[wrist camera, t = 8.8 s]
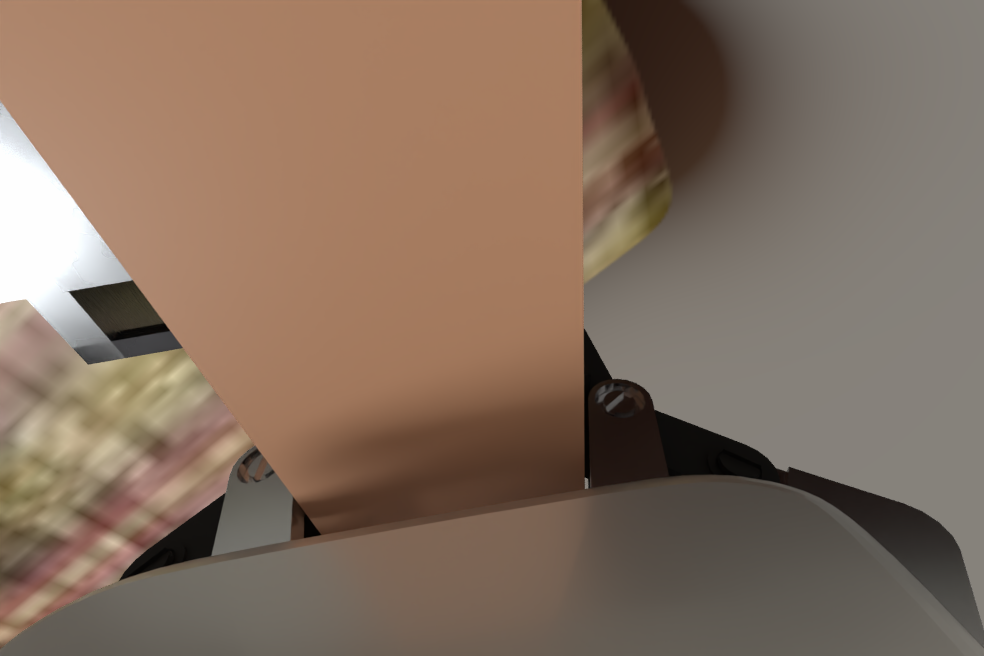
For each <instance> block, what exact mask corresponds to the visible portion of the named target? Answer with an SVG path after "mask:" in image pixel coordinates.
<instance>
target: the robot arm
mask: <svg viewBox="0 0 984 656" xmlns="http://www.w3.org/2000/svg"><path fill="white" fill-rule="evenodd" d="M584 467H585V478H587V479H588V489H582V490H577V491H571V492H565V493H559V494H553V495H547V496H541V497H536V498H530V499H524V500H518V501H512V502H506V503H501V504H495V505H489V506H483V507H477V508H472V509H466V510H460V511H455V512H449V513H443V514H437V515H432V516H426V517H420V518H415V519H409V520H403V521H398V522H392V523H387V524H381V525H375V526H370V527H364V528H358V529H353V530H347V531H342V532H336V533H331V534H325V535H321V533H320V532H319V531H318V529H317V528H316V527H315V525H314V524H313V523H312V521H311V520H310V519H309V517H308V516H307V515H306V513H305V512H304V511H303V509H302V508H301V506H300V505H299V504H298V502H297V501H296V500H295V498H294V497H293V496H292V494H291V493H290V492H289V490H288V489H287V488H286V486H285V485H284V484H283V482H282V481H281V479H280V478H279V477H278V475H277V474H276V473H275V471H274V470H273V469H272V467H271V466H270V465H269V463H268V462H267V461H266V459H265V458H264V456H263V455H262V454H261V452H260V451H259V450H258V448H257V447H256V446H254V447H252V448H251V449H249V450H248V451H247V452H246V453H245V454H243V455H242V456H241V457H240V458H239V459H238V461H237V462H236V463H235V465H234V466H233V468H232V471H231V473H230V477H229V481H228V485H227V490H226V493H225V494H223V495H222V496H221V497H219V498H218V499H216V500H215V501H214V502H212V503H211V504H210V505H208V506H207V507H205V508H204V509H203V510H201V511H200V512H199V513H197V514H196V515H195V516H193V517H192V518H190V519H189V520H188V521H186V522H185V523H184V524H182V525H181V526H180V527H178V528H177V529H175V530H174V531H173V532H171V533H170V534H169V535H167V536H166V537H164V538H163V539H162V540H160V541H159V542H158V543H156V544H155V545H154V546H152V547H151V548H149V549H148V550H147V551H146V552H144V553H143V554H142V555H141V556H140V557H138V558H137V559H136V560H135V561H134V562H133V563H132V564H131V565H130V567H129V568H128V569H127V570H126V571H125V572H124V574H123V575H122V577H121V578H120V580H119V581H118V582H116V583H113V584H111V585H108V586H106V587H103V588H101V589H98V590H96V591H93V592H91V593H89V594H87V595H85V596H83V597H81V598H79V599H77V600H75V601H73V602H71V603H69V604H67V605H65V606H63V607H61V608H59V609H57V610H56V611H54V612H52V613H50V614H49V615H47V616H45V617H44V618H42V619H40V620H39V621H37V622H36V623H34V624H33V625H31V626H30V627H28V628H27V629H25V630H24V631H22V632H21V633H19V634H18V635H17V636H15V637H14V638H13V639H12V640H11V641H9V642H8V643H7V644H6V645H4V646H3V647H2V648H1V649H0V656H984V629H983V625H982V622H981V619H980V615H979V612H978V608H977V605H976V602H975V598H974V595H973V591H972V588H971V585H970V581H969V578H968V574H967V571H966V567H965V564H964V560H963V557H962V554H961V550H960V548H959V546H958V544H957V543H956V541H955V539H954V537H953V536H952V535H951V534H950V533H949V532H948V531H947V530H946V529H945V528H944V527H943V526H942V525H941V524H940V523H939V522H938V521H936V520H935V519H933V518H932V517H930V516H929V515H927V514H926V513H924V512H923V511H920V510H918V509H916V508H913V507H911V506H908V505H906V504H904V503H901V502H897V501H895V500H891V499H888V498H885V497H882V496H879V495H876V494H873V493H869V492H866V491H863V490H860V489H857V488H854V487H850V486H848V485H844V484H841V483H838V482H835V481H832V480H829V479H825V478H822V477H819V476H816V475H813V474H810V473H807V472H804V471H801V470H797V469H794V468H791V467H789V468H788V470H787V472H786V471H783V470H780V469H776V468H775V467H774V465H773V464H772V463H771V462H770V461H769V459H768V458H766V457H765V456H764V455H763V454H761V453H760V452H759V451H757V450H755V449H753V448H751V447H749V446H747V445H745V444H742V443H740V442H737V441H734V440H732V439H729V438H727V437H724V436H721V435H719V434H716V433H713V432H711V431H708V430H706V429H703V428H700V427H698V426H695V425H693V424H690V423H687V422H685V421H682V420H680V419H677V418H674V417H672V416H669V415H667V414H664V413H661V412H659V411H656V410H654V405H653V401H652V399H651V397H650V394H649V393H648V392H647V391H646V390H645V389H644V388H643V387H641V386H640V385H638V384H637V383H634V382H631V381H628V380H622V379H612V377H611V376H610V374H609V372H608V370H607V368H606V367H605V365H604V363H603V361H602V360H601V358H600V356H599V354H598V352H597V350H596V349H595V347H594V345H593V343H592V341H591V340H590V338H589V336H588V334H587V332H586V331H585V329H584Z"/></svg>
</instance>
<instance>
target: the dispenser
mask: <svg viewBox="0 0 984 656" xmlns="http://www.w3.org/2000/svg"><path fill="white" fill-rule="evenodd" d="M21 299H27V300H28V301H29V302H30V303H31V304H32V305H33V307H34V308H35V309H36V310H37V311H38V312H39V313H40V314H41V315H42V316H43V317H44V318H45V319H46V320H47V321H48V322H49V323H50V325H51V326H52V327H53V328H54V329H55V330H56V331H57V332H58V333H59V334H60V335H61V336H62V337H63V338H64V339H65V340H66V341H67V343H68V344H69V345H70V346H71V347H72V348H73V349H74V350H75V351H76V352H77V353H78V354H79V355H80V356H81V357H82V358H83V359H84V361H85V362H86V363H87V364H94V363H100V362H105V361H111V360H117V359H123V358H128V357H134V356H140V355H145V354H151V353H157V352H163V351H168V350H174V349H180V348H183V347H182V346H181V344H180V343H179V342H178V340H177V339H176V338H175V336H174V335H173V334H172V332H171V331H170V330H169V328H168V327H167V325H166V324H165V323H164V321H163V320H162V319H161V317H160V316H159V315H158V313H157V312H156V311H155V309H154V308H153V307H152V305H151V304H150V302H149V301H148V300H147V298H146V297H145V296H144V294H143V293H142V292H141V290H140V289H139V288H138V286H137V285H136V284H135V282H134V281H133V280H132V278H131V277H130V275H129V274H128V273H127V271H126V270H125V269H124V267H123V266H122V265H121V263H120V262H119V261H118V259H117V258H116V257H115V255H114V254H113V253H112V251H111V250H110V248H109V247H108V246H107V244H106V243H105V242H104V240H103V239H102V238H101V236H100V235H99V234H98V232H97V231H96V230H95V228H94V227H93V226H92V224H91V223H90V221H89V220H88V219H87V217H86V216H85V215H84V213H83V212H82V211H81V209H80V208H79V207H78V205H77V204H76V203H75V201H74V200H73V198H72V197H71V196H70V194H69V193H68V192H67V190H66V189H65V188H64V186H63V185H62V184H61V182H60V181H59V180H58V178H57V177H56V176H55V174H54V173H53V171H52V170H51V169H50V167H49V166H48V165H47V163H46V162H45V161H44V159H43V158H42V157H41V155H40V154H39V153H38V151H37V150H36V149H35V147H34V146H33V144H32V143H31V142H30V140H29V139H28V138H27V136H26V135H25V134H24V132H23V131H22V130H21V128H20V127H19V126H18V124H17V123H16V121H15V120H14V119H13V117H12V116H11V115H10V113H9V112H8V111H7V109H6V108H5V107H4V105H3V104H2V103H1V101H0V303H4V302H9V301H15V300H21Z"/></svg>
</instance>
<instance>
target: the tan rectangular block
mask: <svg viewBox="0 0 984 656" xmlns="http://www.w3.org/2000/svg"><path fill="white" fill-rule="evenodd" d="M0 101H1V103H2V104H3V105H4V107H5V108H6V109H7V111H8V112H9V113H10V115H11V116H12V117H13V119H14V120H15V121H16V123H17V124H18V126H19V127H20V128H21V130H22V131H23V132H24V134H25V135H26V136H27V138H28V139H29V140H30V142H31V143H32V144H33V146H34V147H35V149H36V150H37V151H38V153H39V154H40V155H41V157H42V158H43V159H44V161H45V162H46V163H47V165H48V166H49V167H50V169H51V170H52V171H53V173H54V174H55V176H56V177H57V178H58V180H59V181H60V182H61V184H62V185H63V186H64V188H65V189H66V190H67V192H68V193H69V194H70V196H71V197H72V198H73V200H74V201H75V203H76V204H77V205H78V207H79V208H80V209H81V211H82V212H83V213H84V215H85V216H86V217H87V219H88V220H89V221H90V223H91V224H92V226H93V227H94V228H95V230H96V231H97V232H98V234H99V235H100V236H101V238H102V239H103V240H104V242H105V243H106V244H107V246H108V247H109V248H110V250H111V251H112V253H113V254H114V255H115V257H116V258H117V259H118V261H119V262H120V263H121V265H122V266H123V267H124V269H125V270H126V271H127V273H128V274H129V275H130V277H131V278H132V280H133V281H134V282H135V284H136V285H137V286H138V288H139V289H140V290H141V292H142V293H143V294H144V296H145V297H146V298H147V300H148V301H149V302H150V304H151V305H152V307H153V308H154V309H155V311H156V312H157V313H158V315H159V316H160V317H161V319H162V320H163V321H164V323H165V324H166V325H167V327H168V328H169V330H170V331H171V332H172V334H173V335H174V336H175V338H176V339H177V340H178V342H179V343H180V344H181V346H182V347H183V348H184V350H185V351H186V352H187V354H188V355H189V357H190V358H191V359H192V361H193V362H194V363H195V365H196V366H197V367H198V369H199V370H200V371H201V373H202V374H203V375H204V377H205V378H206V379H207V381H208V382H209V384H210V385H211V386H212V388H213V389H214V390H215V392H216V393H217V394H218V396H219V397H220V398H221V400H222V401H223V402H224V404H225V405H226V407H227V408H228V409H229V411H230V412H231V413H232V415H233V416H234V417H235V419H236V420H237V421H238V423H239V424H240V425H241V427H242V428H243V429H244V431H245V432H246V434H247V435H248V436H249V438H250V439H251V440H252V442H253V443H254V444H255V446H256V447H257V448H258V450H259V451H260V452H261V454H262V455H263V456H264V458H265V459H266V461H267V462H268V463H269V465H270V466H271V467H272V469H273V470H274V471H275V473H276V474H277V475H278V477H279V478H280V479H281V481H282V482H283V484H284V485H285V486H286V488H287V489H288V490H289V492H290V493H291V494H292V496H293V497H294V498H295V500H296V501H297V502H298V504H299V505H300V506H301V508H302V509H303V511H304V512H305V513H306V515H307V516H308V517H309V519H310V520H311V521H312V523H313V524H314V525H315V527H316V528H317V529H318V531H319V532H320V533H321V535H325V534H331V533H336V532H342V531H347V530H353V529H358V528H364V527H370V526H375V525H381V524H387V523H392V522H398V521H403V520H409V519H415V518H420V517H426V516H432V515H437V514H443V513H449V512H455V511H460V510H466V509H472V508H477V507H483V506H489V505H495V504H501V503H506V502H512V501H518V500H524V499H530V498H536V497H541V496H547V495H553V494H559V493H565V492H571V491H577V490H582V489H585V479H584V478H585V467H584V324H583V323H584V321H583V320H584V316H583V315H584V310H583V309H584V307H583V146H582V0H0Z"/></svg>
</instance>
